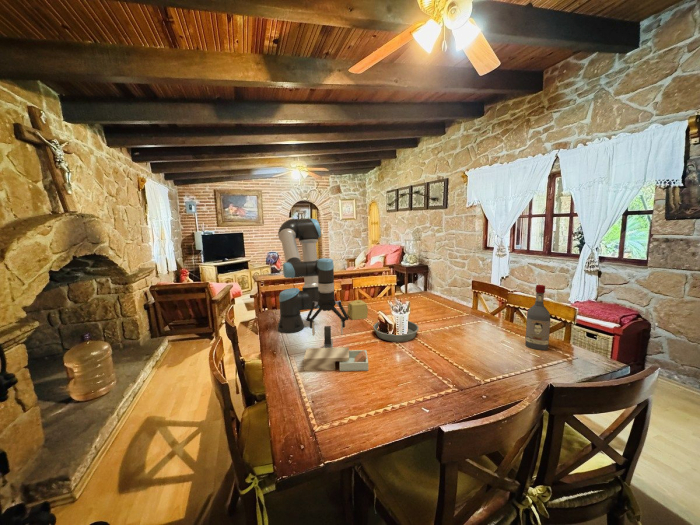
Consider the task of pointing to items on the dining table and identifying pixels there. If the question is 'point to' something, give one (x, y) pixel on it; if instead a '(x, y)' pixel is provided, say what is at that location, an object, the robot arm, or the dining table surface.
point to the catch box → (353, 365)
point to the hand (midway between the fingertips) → (327, 334)
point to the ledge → (324, 358)
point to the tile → (360, 357)
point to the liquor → (538, 323)
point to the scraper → (327, 337)
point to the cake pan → (398, 338)
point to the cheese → (357, 310)
